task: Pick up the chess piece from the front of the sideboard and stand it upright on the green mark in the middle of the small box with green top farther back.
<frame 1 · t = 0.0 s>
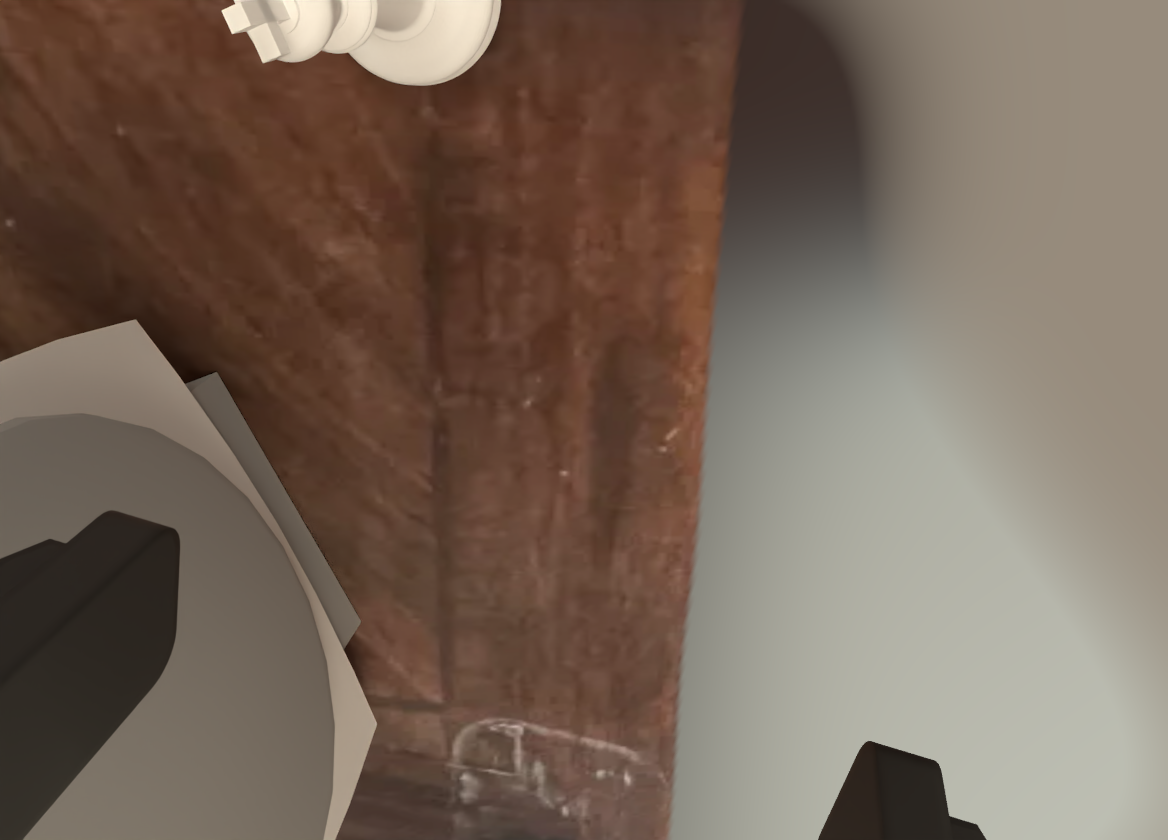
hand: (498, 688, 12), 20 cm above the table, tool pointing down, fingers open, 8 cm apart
alarm clock: (237, 518, 37), on the table
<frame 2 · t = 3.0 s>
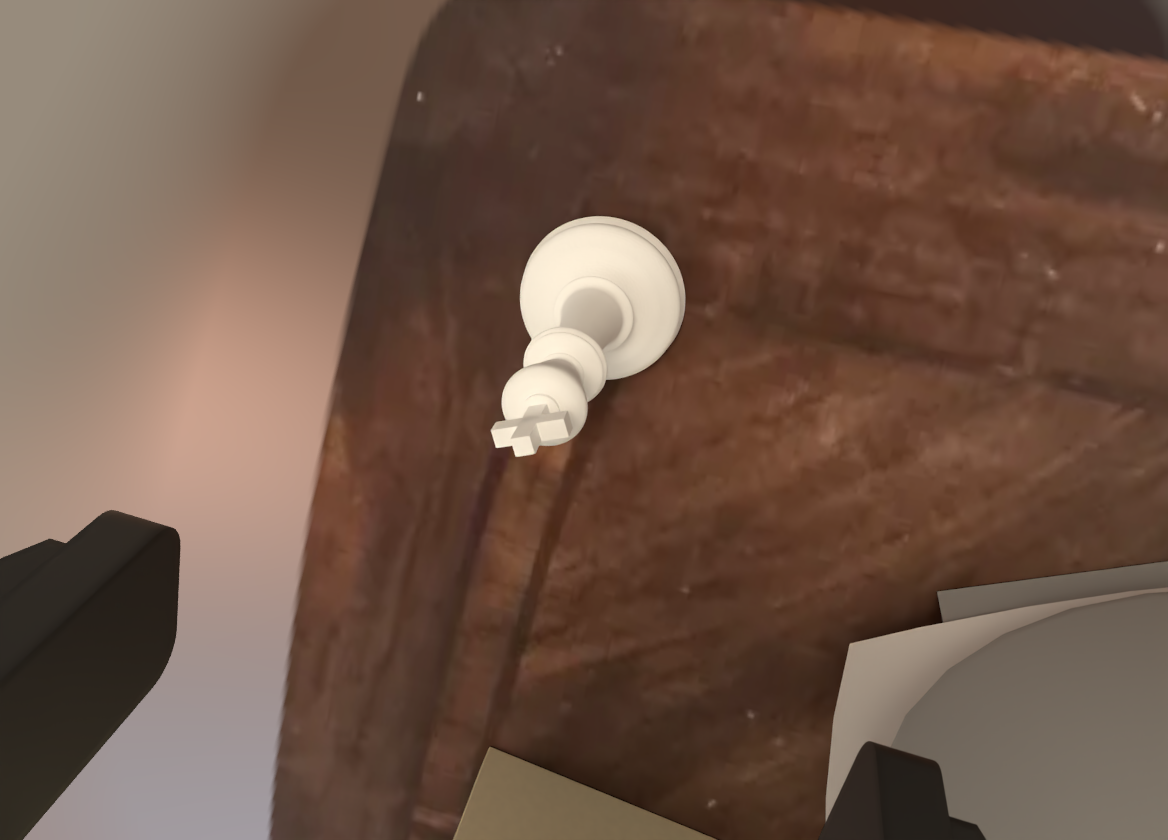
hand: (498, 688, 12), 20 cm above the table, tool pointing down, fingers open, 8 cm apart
alarm clock: (1122, 632, 32), on the table
chess piece: (604, 295, 31), on the table
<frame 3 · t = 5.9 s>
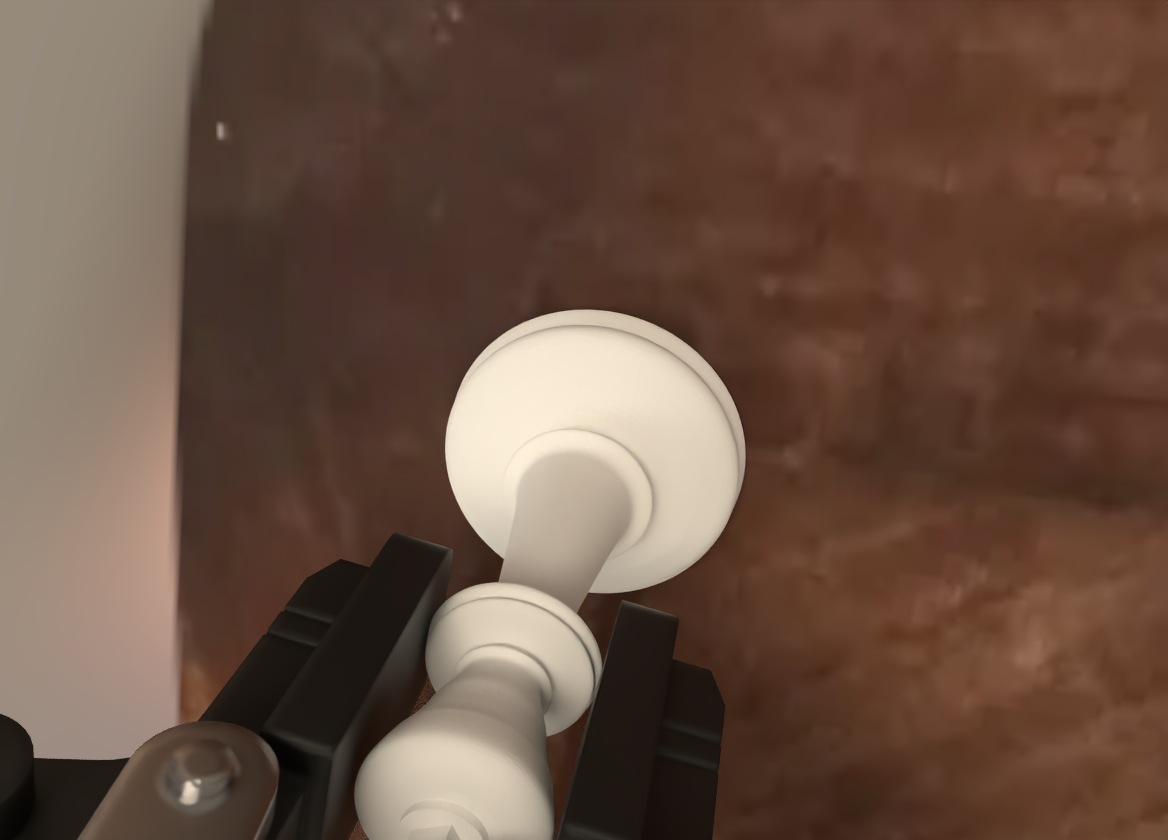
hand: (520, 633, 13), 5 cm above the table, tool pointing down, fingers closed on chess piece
chess piece: (597, 444, 17), on the table, touching gripper
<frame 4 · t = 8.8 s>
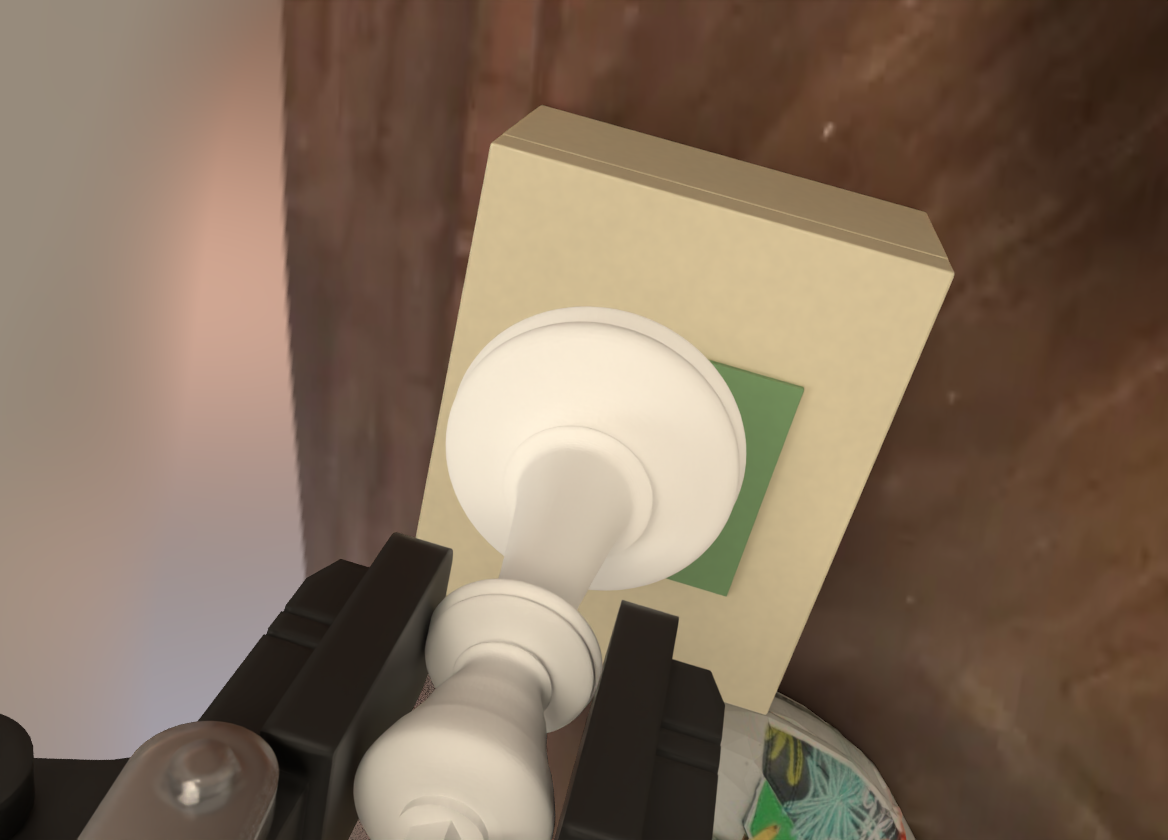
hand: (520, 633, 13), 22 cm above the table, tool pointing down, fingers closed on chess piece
sneaker: (825, 832, 42), on the table
chess piece: (597, 441, 17), point 16 cm above the table, touching gripper
box with green top: (665, 376, 34), on the table
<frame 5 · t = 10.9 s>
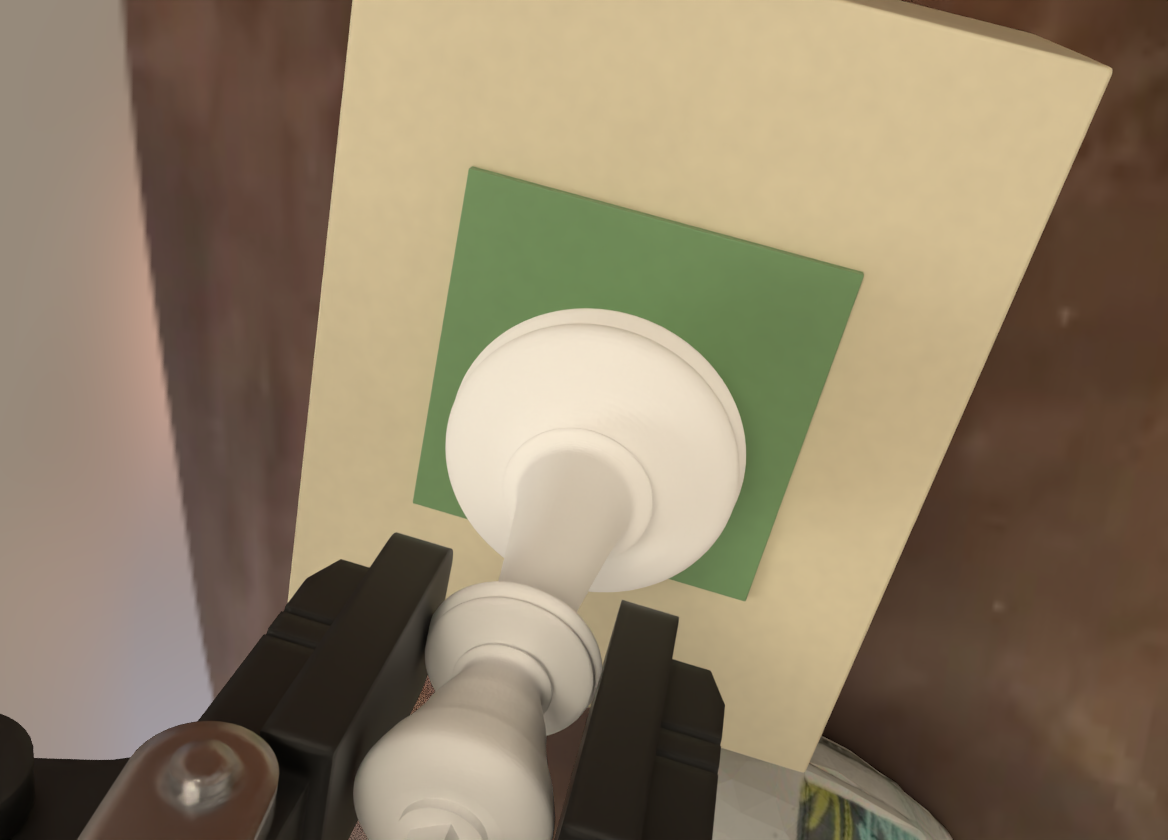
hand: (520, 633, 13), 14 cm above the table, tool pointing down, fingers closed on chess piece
chess piece: (597, 443, 17), point 8 cm above the table, touching gripper
box with green top: (657, 296, 25), on the table
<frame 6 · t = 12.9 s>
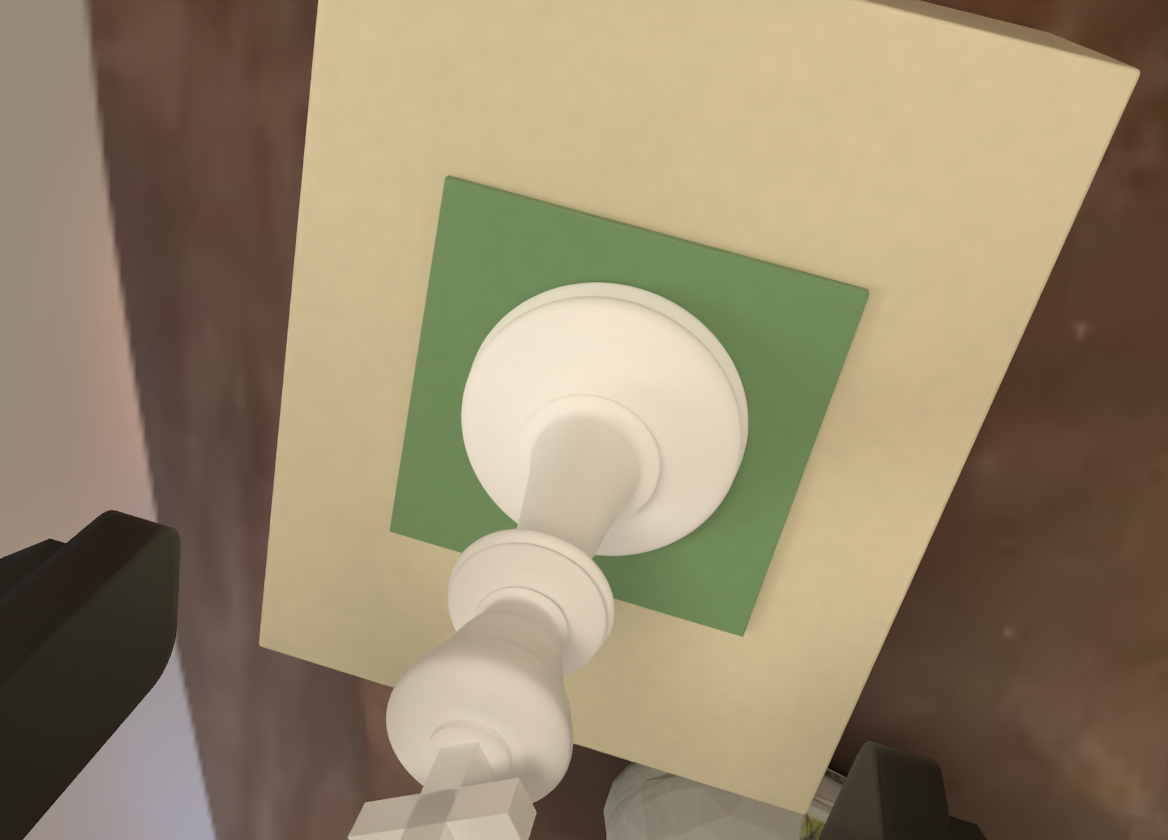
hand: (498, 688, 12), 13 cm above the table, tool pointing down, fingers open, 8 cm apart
chess piece: (606, 413, 18), point 6 cm above the table, touching box with green top
box with green top: (650, 308, 23), on the table
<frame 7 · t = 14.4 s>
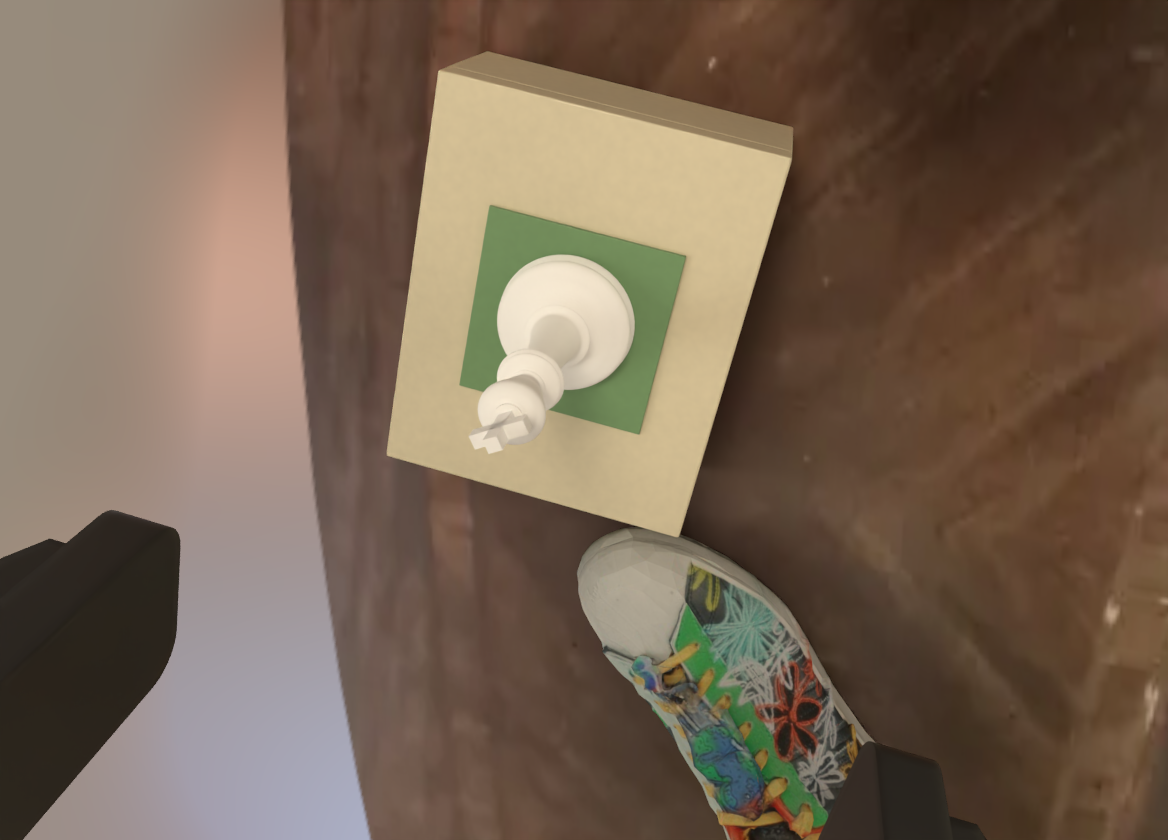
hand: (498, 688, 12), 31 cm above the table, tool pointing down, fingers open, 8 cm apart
sneaker: (753, 673, 50), on the table
chess piece: (567, 319, 37), point 6 cm above the table, touching box with green top
box with green top: (597, 273, 42), on the table
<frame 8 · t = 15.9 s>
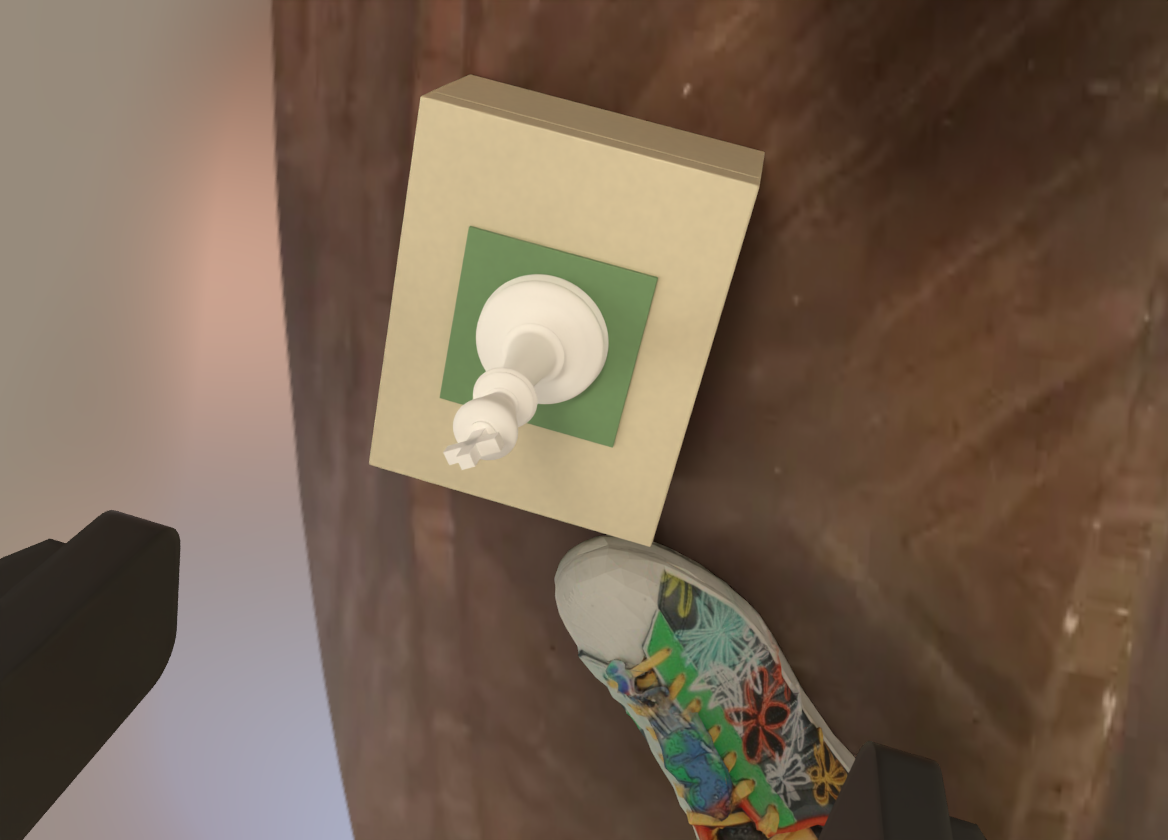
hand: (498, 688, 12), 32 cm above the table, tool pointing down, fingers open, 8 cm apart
sneaker: (725, 677, 51), on the table
chess piece: (544, 336, 38), point 6 cm above the table, touching box with green top
box with green top: (575, 289, 44), on the table
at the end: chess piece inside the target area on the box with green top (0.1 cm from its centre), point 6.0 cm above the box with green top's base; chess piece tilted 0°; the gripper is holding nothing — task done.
